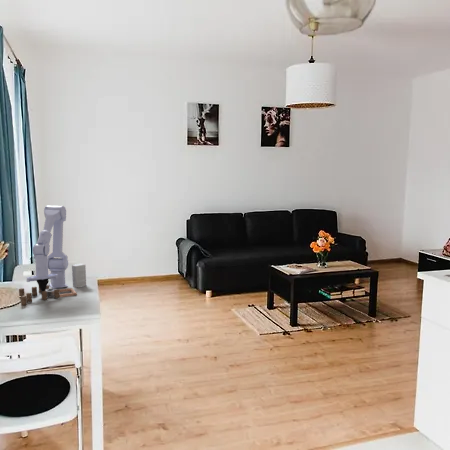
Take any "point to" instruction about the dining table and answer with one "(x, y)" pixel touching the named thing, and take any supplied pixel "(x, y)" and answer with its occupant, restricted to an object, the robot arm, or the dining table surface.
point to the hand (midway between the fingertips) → (43, 293)
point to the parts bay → (67, 293)
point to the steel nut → (50, 292)
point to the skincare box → (79, 275)
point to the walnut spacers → (34, 293)
